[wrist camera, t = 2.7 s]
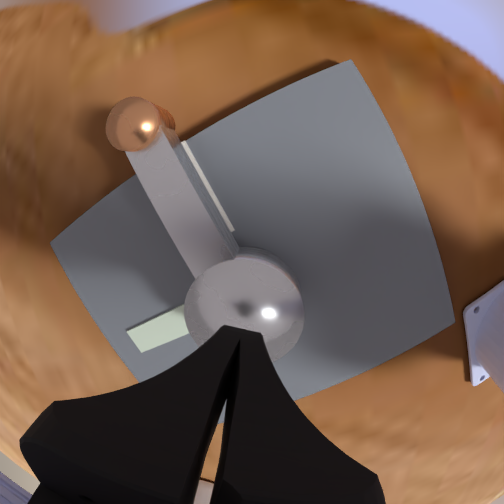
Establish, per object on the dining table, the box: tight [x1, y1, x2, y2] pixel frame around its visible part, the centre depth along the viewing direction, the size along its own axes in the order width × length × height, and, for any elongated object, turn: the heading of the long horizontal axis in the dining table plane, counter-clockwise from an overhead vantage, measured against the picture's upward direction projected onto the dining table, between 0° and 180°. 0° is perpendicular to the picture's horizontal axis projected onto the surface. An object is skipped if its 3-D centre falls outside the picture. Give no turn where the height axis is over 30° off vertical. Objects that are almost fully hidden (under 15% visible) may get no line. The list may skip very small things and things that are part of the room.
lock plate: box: [50, 59, 455, 424], centre depth 15 cm, size 20×16×2 cm
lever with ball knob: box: [106, 97, 304, 362], centre depth 12 cm, size 13×5×2 cm, turn 29°
